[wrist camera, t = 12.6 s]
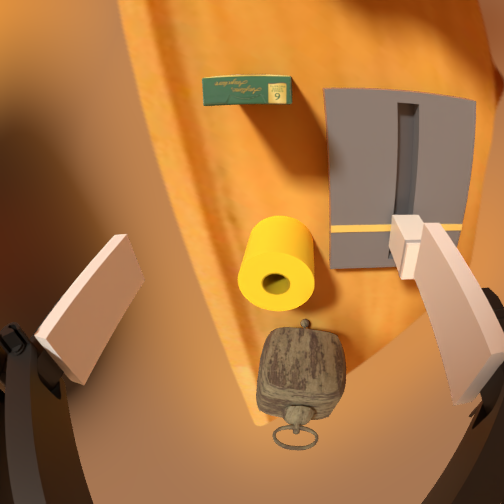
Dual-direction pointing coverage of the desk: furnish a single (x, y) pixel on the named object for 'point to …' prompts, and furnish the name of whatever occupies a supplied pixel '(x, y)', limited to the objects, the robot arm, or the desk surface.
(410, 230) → the fader knob
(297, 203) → the desk surface
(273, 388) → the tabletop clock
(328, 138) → the fader console
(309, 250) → the yellow toilet paper roll
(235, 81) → the coffee box
